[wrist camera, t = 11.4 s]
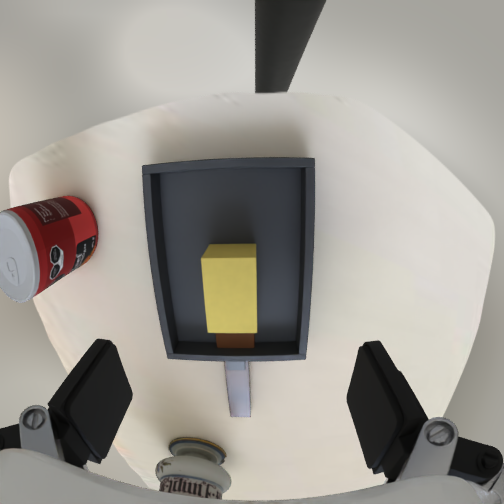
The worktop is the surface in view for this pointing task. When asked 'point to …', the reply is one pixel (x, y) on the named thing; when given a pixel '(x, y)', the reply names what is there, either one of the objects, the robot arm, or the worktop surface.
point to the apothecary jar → (194, 469)
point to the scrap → (235, 340)
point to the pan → (232, 232)
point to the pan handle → (238, 388)
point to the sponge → (230, 288)
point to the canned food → (44, 244)
